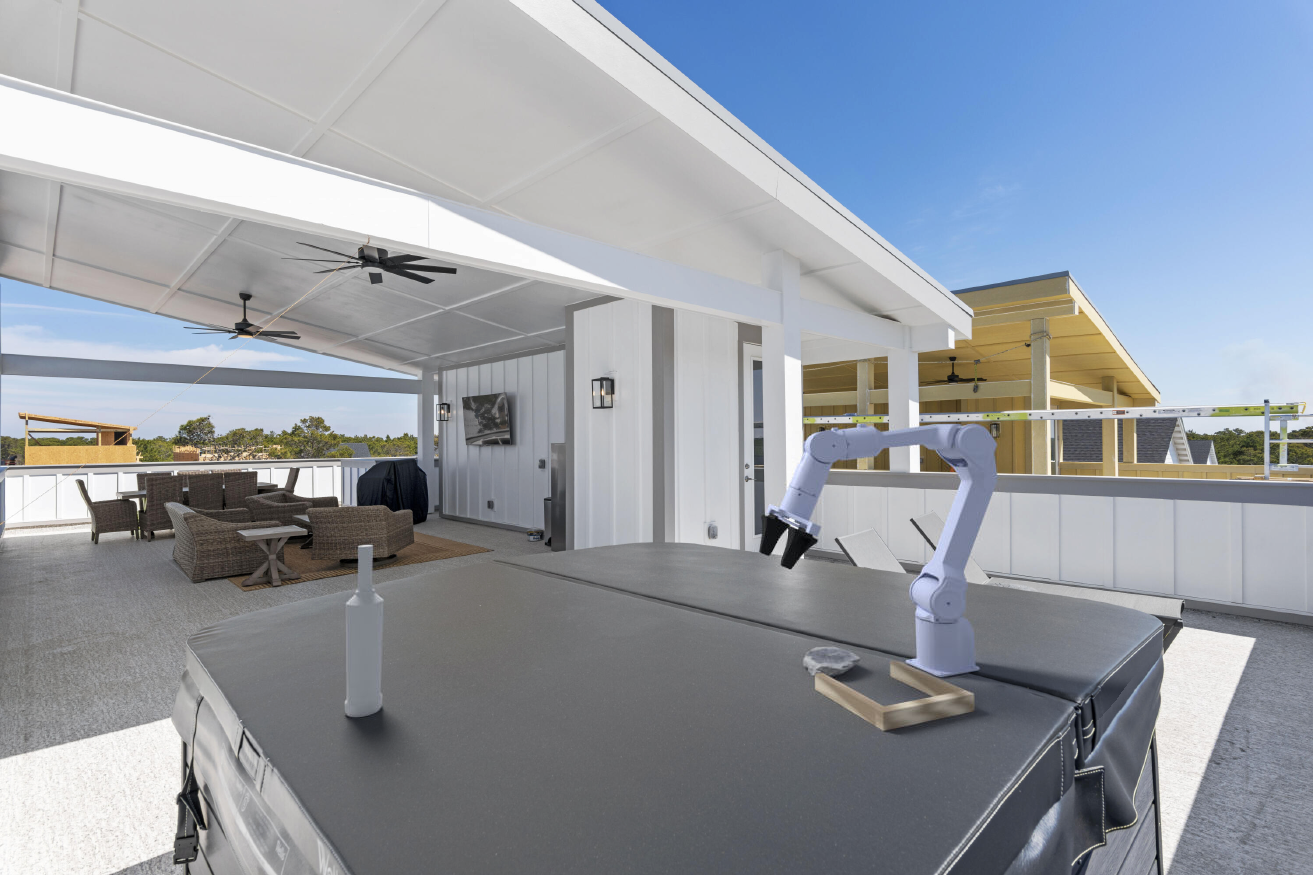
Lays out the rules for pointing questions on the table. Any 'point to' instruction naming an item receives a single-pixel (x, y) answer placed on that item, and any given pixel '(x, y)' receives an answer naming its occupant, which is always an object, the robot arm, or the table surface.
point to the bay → (939, 706)
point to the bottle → (364, 642)
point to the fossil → (829, 661)
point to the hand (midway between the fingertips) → (774, 560)
